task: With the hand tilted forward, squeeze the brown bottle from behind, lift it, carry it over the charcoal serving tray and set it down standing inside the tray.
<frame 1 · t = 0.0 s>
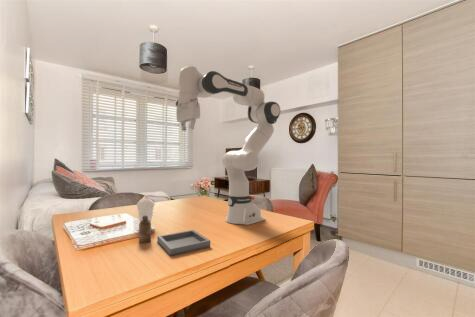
hand: (187, 130, 114), 48 cm above the table, tool pointing down, fingers open, 8 cm apart
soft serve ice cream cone: (145, 227, 119), on the table
brown bottle: (144, 241, 99), on the table
tray: (183, 244, 96), on the table
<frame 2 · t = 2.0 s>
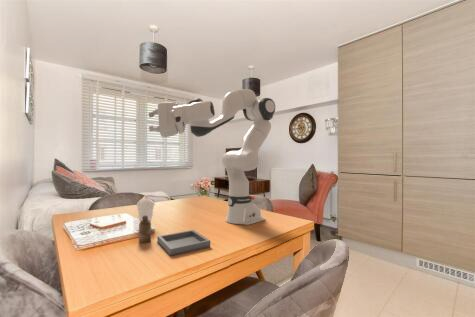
hand: (149, 122, 108), 51 cm above the table, tool horizontal, fingers open, 8 cm apart
nothing on the table moved.
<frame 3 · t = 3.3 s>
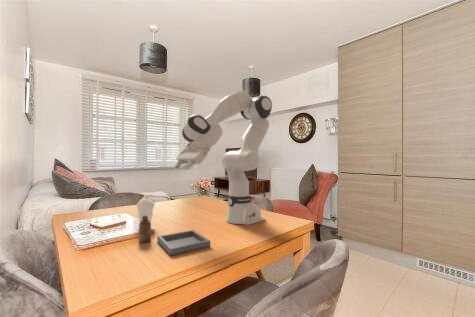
hand: (180, 168, 110), 30 cm above the table, tool tilted 45°, fingers open, 8 cm apart
nothing on the table moved.
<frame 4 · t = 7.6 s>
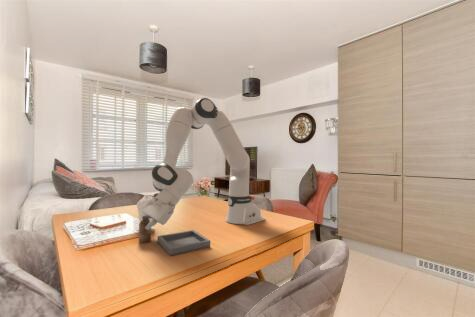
hand: (143, 227, 99), 6 cm above the table, tool tilted 45°, fingers closed on brown bottle, 5 cm apart
brown bottle: (144, 241, 99), on the table, touching gripper
everything else where it was.
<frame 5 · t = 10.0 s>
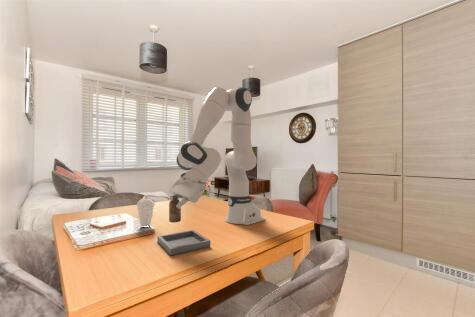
hand: (173, 206, 97), 15 cm above the table, tool tilted 45°, fingers closed on brown bottle, 5 cm apart
brown bottle: (175, 220, 97), point 9 cm above the table, touching gripper
everything else where it was.
when the fingers open (8 cm above the table, at t = 12.2 s): brown bottle drops 1 cm, resting on tray.
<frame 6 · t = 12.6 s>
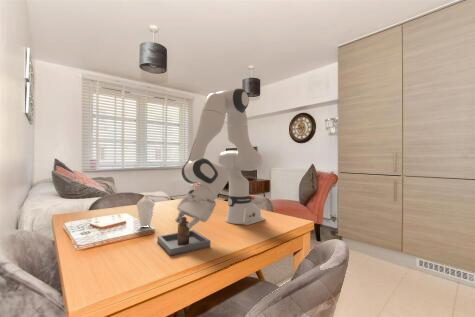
hand: (182, 224, 96), 8 cm above the table, tool tilted 45°, fingers open, 8 cm apart
brown bottle: (183, 242, 96), point 1 cm above the table, touching tray
everything else where it was.
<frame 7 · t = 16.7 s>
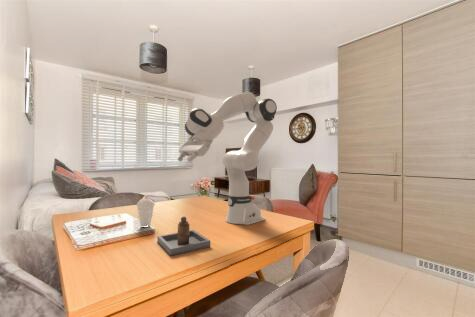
hand: (183, 160, 113), 33 cm above the table, tool tilted 45°, fingers open, 8 cm apart
nothing on the table moved.
at the end: brown bottle inside the target area on the tray (0.0 cm from its centre), point 0.6 cm above the tray's base; brown bottle tilted 0°; the gripper is holding nothing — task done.
